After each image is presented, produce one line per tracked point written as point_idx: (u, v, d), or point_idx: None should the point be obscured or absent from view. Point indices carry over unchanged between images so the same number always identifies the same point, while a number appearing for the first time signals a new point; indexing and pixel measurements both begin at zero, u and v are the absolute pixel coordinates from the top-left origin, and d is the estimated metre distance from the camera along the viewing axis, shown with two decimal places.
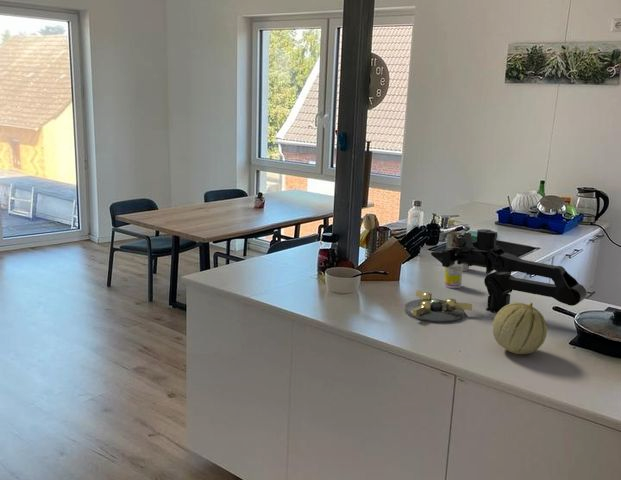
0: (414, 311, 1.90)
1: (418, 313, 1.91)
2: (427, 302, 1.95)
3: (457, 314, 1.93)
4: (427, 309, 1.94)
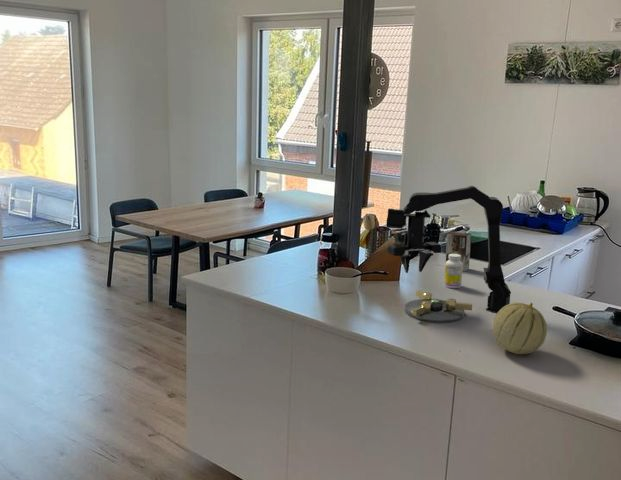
0: (414, 311, 1.90)
1: (418, 313, 1.91)
2: (427, 302, 1.95)
3: (457, 314, 1.93)
4: (427, 309, 1.94)
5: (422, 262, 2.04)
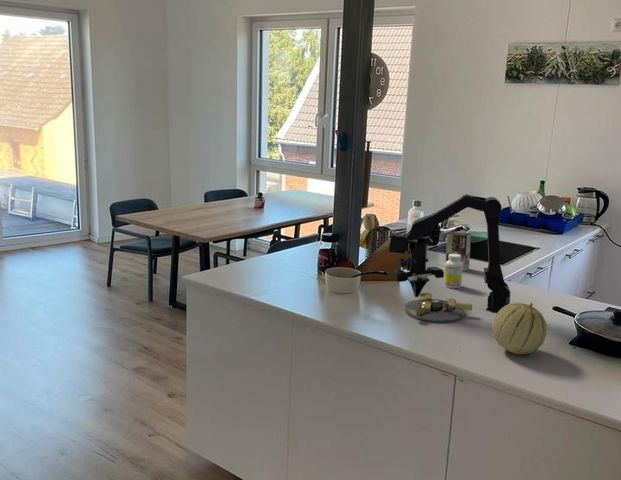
0: (414, 311, 1.90)
1: (418, 313, 1.91)
2: (427, 302, 1.95)
3: (457, 314, 1.93)
4: (427, 309, 1.94)
5: None
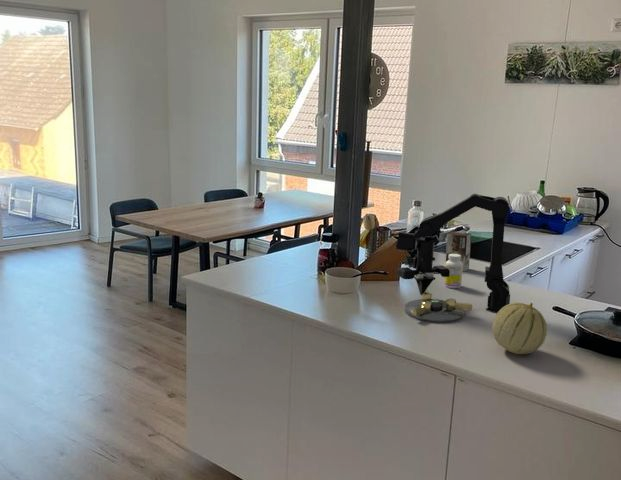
0: (414, 311, 1.90)
1: (418, 313, 1.91)
2: (427, 302, 1.95)
3: (457, 314, 1.93)
4: (427, 309, 1.94)
5: None
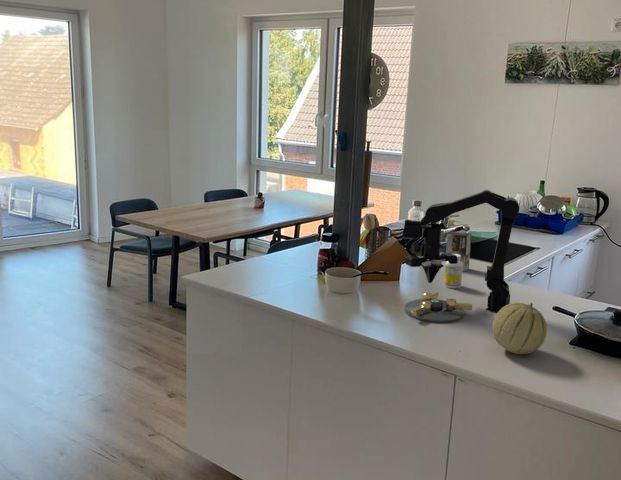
0: (414, 311, 1.90)
1: (418, 313, 1.91)
2: (427, 302, 1.95)
3: (457, 314, 1.93)
4: (427, 309, 1.94)
5: (432, 273, 2.06)
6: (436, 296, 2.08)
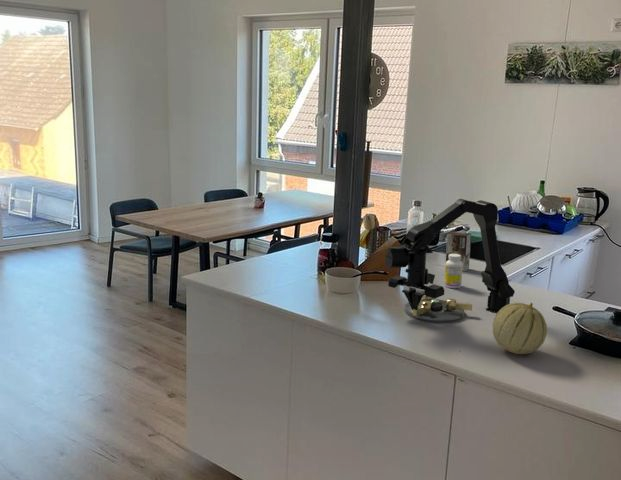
0: (414, 311, 1.90)
1: (418, 313, 1.91)
2: (427, 302, 1.95)
3: (457, 314, 1.93)
4: (427, 309, 1.94)
5: None
6: None
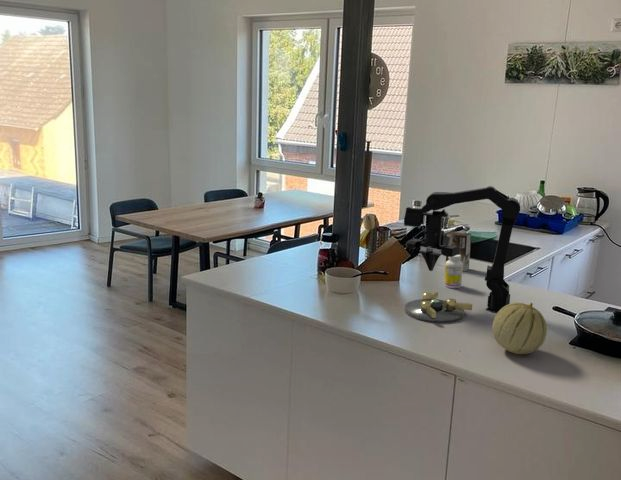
0: (434, 314, 1.89)
1: None
2: (427, 302, 1.95)
3: (457, 314, 1.93)
4: None
5: None
6: (436, 296, 2.08)
